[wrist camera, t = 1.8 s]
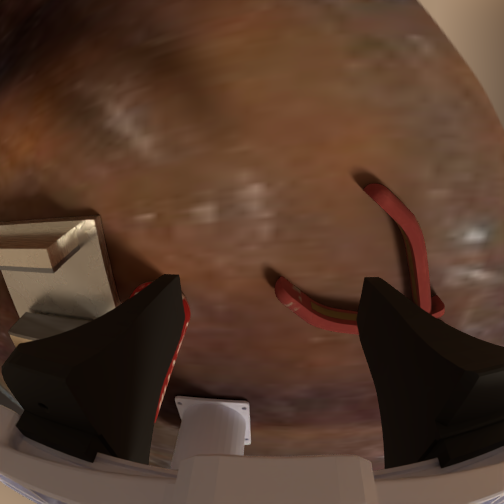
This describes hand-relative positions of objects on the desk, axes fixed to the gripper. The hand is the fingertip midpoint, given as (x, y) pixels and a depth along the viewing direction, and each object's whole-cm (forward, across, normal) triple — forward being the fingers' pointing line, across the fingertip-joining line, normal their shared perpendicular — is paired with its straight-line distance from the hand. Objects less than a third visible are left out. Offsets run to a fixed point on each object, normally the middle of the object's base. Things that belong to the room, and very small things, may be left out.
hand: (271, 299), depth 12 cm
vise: (+10, +20, +8) cm, 24 cm away
